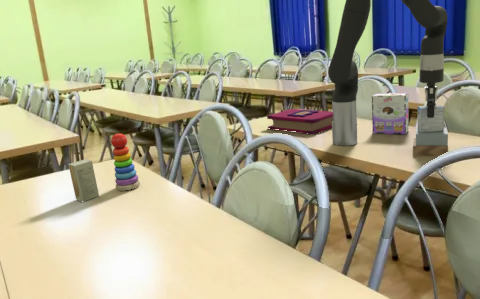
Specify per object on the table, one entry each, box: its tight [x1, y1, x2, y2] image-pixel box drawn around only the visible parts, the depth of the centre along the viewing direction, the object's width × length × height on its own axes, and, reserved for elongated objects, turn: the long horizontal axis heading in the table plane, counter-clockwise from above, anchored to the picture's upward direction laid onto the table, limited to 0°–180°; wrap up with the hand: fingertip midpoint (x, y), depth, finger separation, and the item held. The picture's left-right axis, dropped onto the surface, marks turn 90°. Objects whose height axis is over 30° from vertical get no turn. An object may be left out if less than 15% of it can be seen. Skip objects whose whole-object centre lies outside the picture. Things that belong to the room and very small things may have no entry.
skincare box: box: [68, 158, 100, 203], centre depth 142 cm, size 6×4×12 cm
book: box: [266, 108, 333, 135], centre depth 213 cm, size 21×28×8 cm
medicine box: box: [417, 104, 445, 133], centre depth 155 cm, size 8×4×9 cm, turn 81°
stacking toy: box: [110, 133, 141, 192], centre depth 147 cm, size 8×8×19 cm
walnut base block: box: [412, 137, 449, 157], centre depth 158 cm, size 11×11×4 cm
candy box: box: [371, 92, 409, 135], centre depth 187 cm, size 14×6×16 cm, turn 58°
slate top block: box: [415, 127, 449, 147], centre depth 157 cm, size 10×10×4 cm
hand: (430, 114), depth 155 cm, fingers open, 8 cm apart
